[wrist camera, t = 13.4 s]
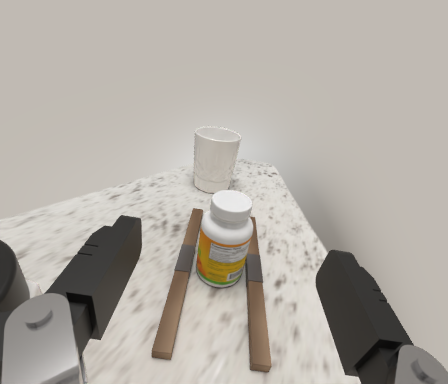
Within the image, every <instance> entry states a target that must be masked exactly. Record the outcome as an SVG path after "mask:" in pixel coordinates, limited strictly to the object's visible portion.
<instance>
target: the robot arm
mask: <svg viewBox="0 0 448 384" xmlns="http://www.w3.org/2000/svg"><path fill="white" fill-rule="evenodd" d="M141 248H142V231H141V219H140V218H136V217H130V216H124V215H121V216H120V217H119V218H118V219H117V221H116V222H115V223H114V225H113V226H112V227H110V226H103V227H102V228H100V229H99V230H97V231H96V232H94V233H93V234H92V235H91V236H90V237H89V239H88V240H87V241H86V242H85V244H84V246H82V248H81V249H80V250H79V251H78V254H77V255H75V256H74V258H73V259H72V260H71V261H70V263H69V264H68V265H67V266H66V268H65V269H64V270H63V272H62V273H61V274H60V275H59V277H58V278H57V279H56V280H55V282H54V283H53V284H52V285H51V287H50V288H49V289H48V290H47V291H46V292H45V293H44V294H42V295H38V296H35V297H33V298H31V299H29V300H27V301H25V302H24V303H22V304H21V305H20V306H18V307H17V308H16V309H15V310H11V311H6V312H0V384H88V380H87V374H86V369H85V363H84V357H83V351H84V349H85V347H86V345H87V343H88V341H89V339H97V340H101V338H102V336H103V334H104V332H105V330H106V327H107V325H108V323H109V321H110V319H111V317H112V315H113V313H114V310H115V308H116V306H117V304H118V302H119V300H120V298H121V296H122V294H123V291H124V289H125V287H126V285H127V283H128V281H129V279H130V277H131V275H132V272H133V270H134V268H135V266H136V264H137V262H138V260H139V257H140V253H141ZM316 288H317V291H318V294H319V297H320V300H321V303H322V306H323V309H324V312H325V315H326V318H327V321H328V324H329V327H330V330H331V333H332V336H333V339H334V342H335V345H336V348H337V351H338V354H339V357H340V360H341V363H342V366H343V369H344V372H345V375H349V376H357V377H359V379H360V381H361V384H448V372H447V371H446V370H445V368H444V367H443V366H442V365H441V364H440V363H439V362H438V361H437V360H436V359H435V358H434V357H433V356H432V355H430V354H429V353H428V352H426V351H425V350H423V349H421V348H419V347H416V346H414V345H413V343H412V341H411V340H410V338H409V336H408V335H407V333H406V331H405V330H404V328H403V326H402V325H401V323H400V321H399V320H398V318H397V316H396V315H395V313H394V311H393V310H392V308H391V306H390V305H389V303H387V300H386V298H385V296H384V295H383V293H381V290H380V288H379V286H378V285H377V283H376V281H375V280H374V278H373V277H372V276H371V275H370V274H369V273H368V272H367V271H366V270H365V269H364V268H363V267H360V266H359V264H358V263H357V261H356V259H355V257H354V255H353V254H352V253H350V252H343V251H337V250H331V251H329V253H328V255H327V256H326V258H325V260H324V262H323V264H322V265H321V267H320V269H319V271H318V273H317V275H316Z"/></svg>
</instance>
